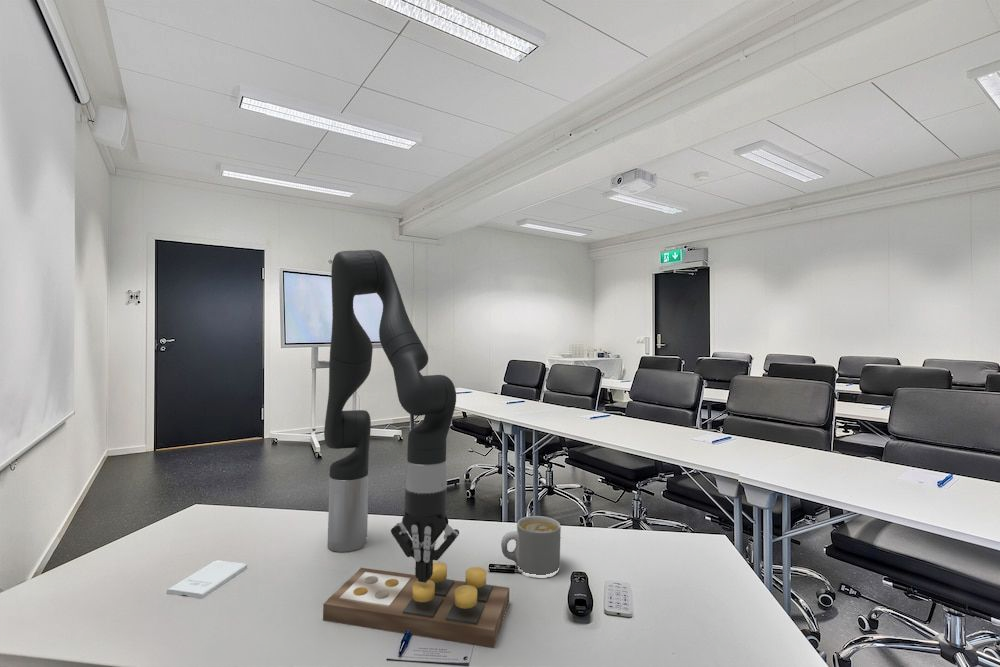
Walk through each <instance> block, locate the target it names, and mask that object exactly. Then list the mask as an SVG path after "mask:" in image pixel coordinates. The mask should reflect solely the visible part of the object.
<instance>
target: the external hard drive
mask: <svg viewBox="0 0 1000 667" xmlns="http://www.w3.org/2000/svg"><path fill="white" fill-rule="evenodd" d="M247 569H248V564H246V563H244V562H235V561H234V562H233V561H228V560H218V559H217V560H213V561H211V563H208V565H205V566H204V567H202V568H200V569H199V570H197V571H196V572H193V573H192V574H191V575H189V576H188V577H185V578H184V579H182V580H180V581H179V582H178V583H176V584H174V585H173V586H171V587H169V588H167V589H166V594H168V595H175V596H185V597H187V598H193V599H194V598H195V599H200V600H201V599H204V598H206V596H208V595H210V594H211V593H213V592H214V591H216V590H218V589H219V588H220V587H222V586H223V585H225V584H226V583H229V581H231V580H232V579H234V578H235V577H236V576H238V575H239V574H241V573H242V572H244V571H246V570H247Z"/></svg>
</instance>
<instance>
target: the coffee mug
mask: <svg viewBox="0 0 1000 667" xmlns="http://www.w3.org/2000/svg"><path fill="white" fill-rule="evenodd" d="M561 528H562V526H561V523H560V522H559V521H557V520H556V519H554V518H551V517H548V516H541V515H531V516H530V515H529V516H525V517H521V518H520V519H519V520H518V521H517V523H516V529H517V530H515V531H509V532H506V533H504V535H503V536H502V539H501V545H500V546H501V547H500V548H501V552H502V554H503V556H504V558H506V559H508V560H511V561H513V562H514V563H515V564H516V565H517V566H519V567H520V568H521V569H522V570H523V572H525V573H529V574H536V575H546V574H550V573H553V572H555V571H557V570H558V568H559V566H560V565H561V564H560V563H561V562H560V561H561V560H560V559H561V531H562V530H561ZM511 540H514V541H515V548H514V550H513V551H509V550H508V543H509V542H510V541H511ZM516 565H515V566H516Z"/></svg>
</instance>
